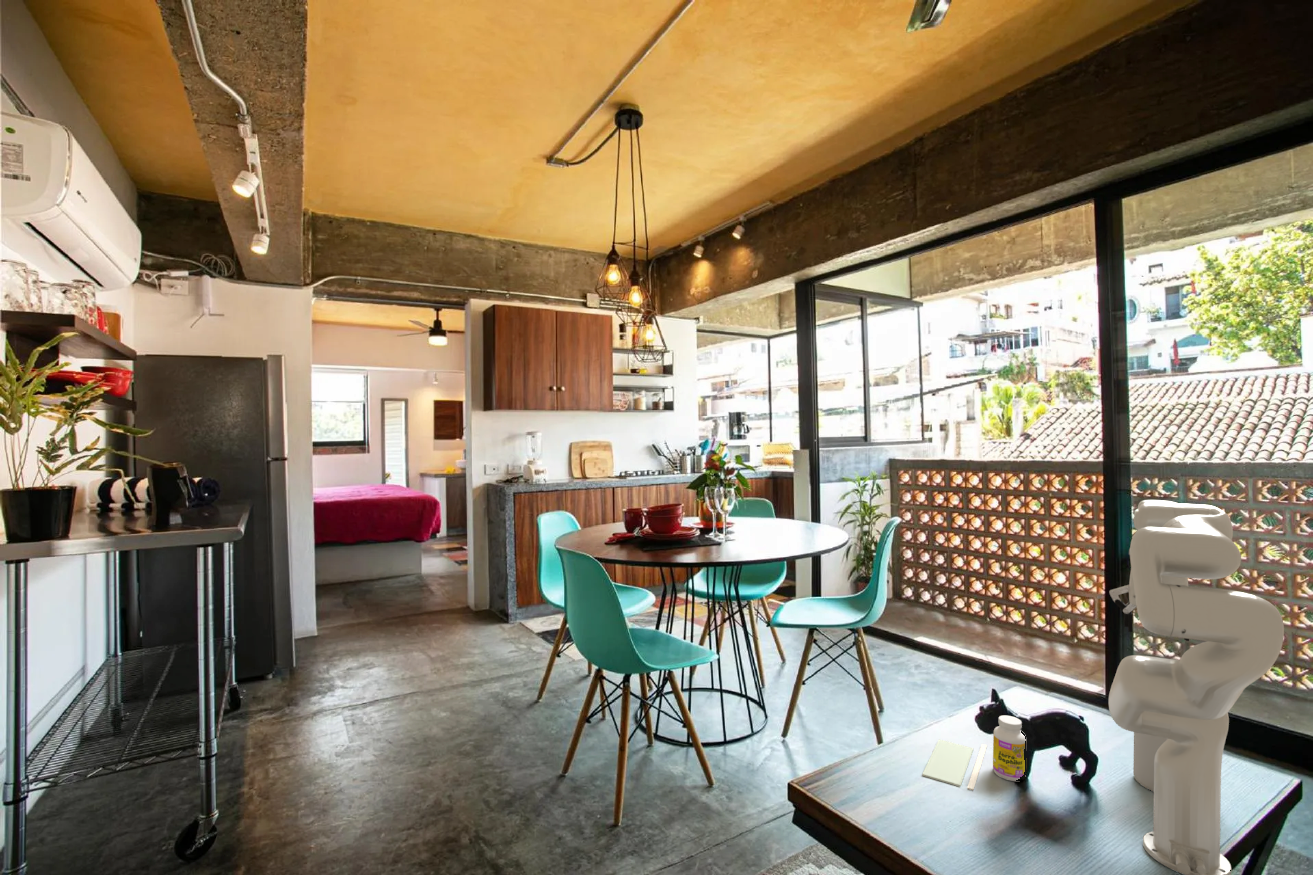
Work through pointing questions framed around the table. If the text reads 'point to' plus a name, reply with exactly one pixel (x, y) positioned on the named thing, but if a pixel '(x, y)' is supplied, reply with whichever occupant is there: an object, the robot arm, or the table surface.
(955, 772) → the mat
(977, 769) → the beige wooden stick
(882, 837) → the table surface
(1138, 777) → the cylinder vase
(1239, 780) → the table surface
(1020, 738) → the supplement bottle
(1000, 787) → the table surface
